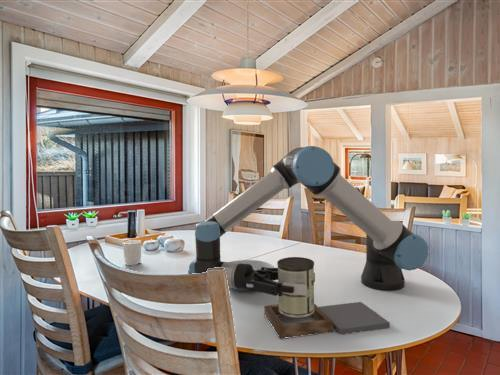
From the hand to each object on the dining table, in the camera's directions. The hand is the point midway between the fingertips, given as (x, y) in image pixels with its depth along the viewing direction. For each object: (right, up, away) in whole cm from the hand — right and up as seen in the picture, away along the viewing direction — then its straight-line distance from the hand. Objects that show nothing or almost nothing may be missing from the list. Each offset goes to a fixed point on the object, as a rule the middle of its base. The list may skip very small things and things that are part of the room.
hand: (310, 283), depth 103 cm
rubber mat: (+12, -12, +4) cm, 18 cm away
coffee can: (-4, -8, +2) cm, 9 cm away
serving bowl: (-18, -10, +34) cm, 40 cm away
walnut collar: (-4, -12, +3) cm, 13 cm away
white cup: (-70, -8, +65) cm, 96 cm away
